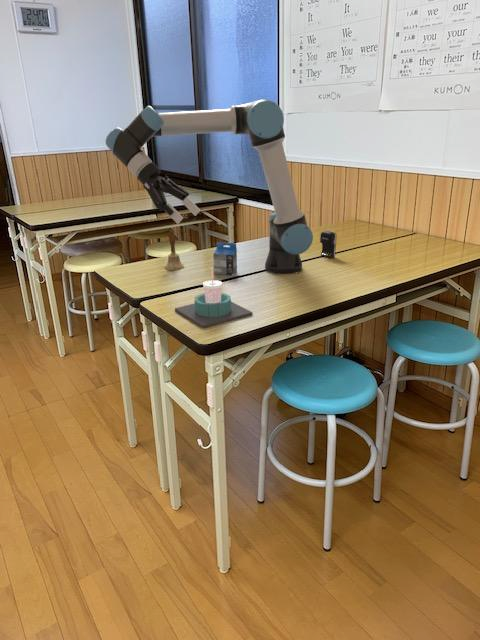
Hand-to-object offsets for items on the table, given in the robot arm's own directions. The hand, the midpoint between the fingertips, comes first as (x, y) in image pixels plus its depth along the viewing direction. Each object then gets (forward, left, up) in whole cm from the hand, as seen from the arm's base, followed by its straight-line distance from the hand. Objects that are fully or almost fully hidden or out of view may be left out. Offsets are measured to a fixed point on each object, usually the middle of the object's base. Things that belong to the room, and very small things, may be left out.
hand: (189, 217), depth 163 cm
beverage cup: (-7, +18, -27) cm, 33 cm away
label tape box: (-12, -25, -28) cm, 39 cm away
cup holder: (-6, +18, -27) cm, 33 cm away
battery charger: (-58, -44, -28) cm, 78 cm away
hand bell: (+9, -37, -28) cm, 47 cm away
